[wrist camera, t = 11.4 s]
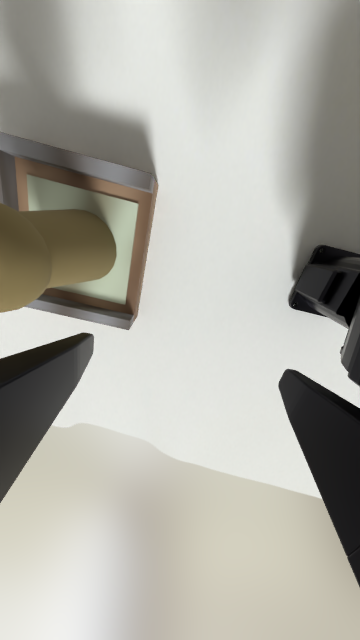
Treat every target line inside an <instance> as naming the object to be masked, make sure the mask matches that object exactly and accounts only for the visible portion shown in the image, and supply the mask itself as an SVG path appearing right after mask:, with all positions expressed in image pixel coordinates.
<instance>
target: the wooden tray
mask: <svg viewBox="0 0 360 640" xmlns="http://www.w3.org/2000/svg"><path fill="white" fill-rule="evenodd" d="M157 190H158V184H157V182H156V180H155V179H154V177H153V175H152V174H151V173H147V172H144V171H140V170H137V169H133V168H129V167H126V166H122V165H118V164H115V163H111V162H107V161H104V160H100V159H96V158H93V157H89V156H85V155H82V154H78V153H74V152H71V151H67V150H64V149H60V148H56V147H53V146H49V145H45V144H42V143H38V142H34V141H31V140H27V139H23V138H20V137H16V136H12V135H9V134H5V133H2V132H0V203H2V204H4V205H7V206H9V207H11V208H13V209H15V210H17V211H39V210H64V209H78V210H86V211H88V212H90V213H92V214H95V215H97V216H98V217H99V218H100V219H101V220H102V221H103V222H105V223H106V224H107V226H108V228H109V229H110V231H111V232H112V234H113V236H114V240H115V243H116V253H117V257H116V260H115V264H114V267H113V268H112V269H111V271H110V272H109V273H108V274H107V275H106V276H104V277H102V278H101V279H98V280H93V281H88V282H82V283H76V284H70V285H64V286H58V287H52V288H46V289H45V291H44V292H43V294H42V295H40V296H39V297H38V298H37V299H36V300H34V301H33V302H31V303H30V304H28V305H26V306H24V307H28V308H33V309H37V310H42V311H46V312H51V313H55V314H59V315H64V316H68V317H73V318H77V319H82V320H86V321H91V322H95V323H100V324H104V325H108V326H113V327H117V328H122V329H126V330H129V329H130V327H131V325H132V324H133V322H134V321H135V319H136V317H137V314H138V308H139V301H140V295H141V289H142V283H143V277H144V270H145V264H146V258H147V252H148V246H149V239H150V233H151V227H152V221H153V215H154V208H155V202H156V196H157Z"/></svg>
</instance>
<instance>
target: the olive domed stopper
mask: <svg viewBox="0 0 360 640" xmlns="http://www.w3.org/2000/svg"><path fill="white" fill-rule="evenodd" d="M116 257H117V253H116V243H115V240H114V236H113V234H112V232H111V231H110V229H109V228H108V226H107V224H106V223H105V222H103V221H102V220H101V219H100V218H99V217H98V216H97V215H95V214H92V213H90V212H88V211H86V210H78V209H64V210H39V211H17V210H15V209H13V208H11V207H9V206H7V205H4V204H2V203H0V313H1V312H7V311H12V310H17V309H20V308H22V307H24V306H26V305H28V304H30V303H31V302H33V301H34V300H36V299H37V298H38V297H39V296H40V295H42V294H43V292H44V291H45V289H46V288H52V287H58V286H64V285H70V284H76V283H82V282H88V281H93V280H98V279H101V278H102V277H104V276H106V275H107V274H108V273H109V272H110V271H111V269H112V268H113V267H114V264H115V260H116Z"/></svg>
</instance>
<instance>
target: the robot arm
mask: <svg viewBox="0 0 360 640" xmlns="http://www.w3.org/2000/svg"><path fill="white" fill-rule="evenodd" d="M320 249H323V251H322V252H321V253H320ZM295 302H296V305H294V306H293V304H294V303H295ZM289 306H290V307H291V308H293V309H296V310H300V311H304V312H308V313H312V314H316V315H321V316H325V317H328V318H330V319H332V320H334V321H335V322H337V323H339V324H341V325H342V326H344V327H346V328H347V329H349V330H348V333H347V336H346V339H345V343H344V346H342V347H341V350H340V354H341V363H342V364H343V366H344V367H345V369H346V370H347V371H348V372H349V373H348V377H349V378H350V379H351V380H352V381H353V382H354V383H356V384H357V385H358V386H360V254H356V253H352V252H348V251H345V250H341V249H337V248H333V247H330V246H326V245H319V246H317V247H316V249H315V250H314V252H313V255H312V257H311V259H310V261H309V263H308V265H306V266H305V269H304V271H303V273H302V275H301V277H300V279H299V281H298V283H297V285H296V287H295V292H294V294H293V296H292V298H291V300H290V302H289ZM93 345H94V336H93V334H89V333H80V334H77V335H74V336H71V337H68V338H65V339H61V340H58V341H55V342H52V343H49V344H46V345H42V346H39V347H36V348H33V349H30V350H27V351H24V352H20V353H17V354H14V355H11V356H8V357H5V358H1V359H0V503H1V501H2V500H3V498H4V497H5V495H6V494H7V492H8V490H9V489H10V487H11V486H12V484H13V483H14V481H15V480H16V478H17V477H18V475H19V474H20V472H21V471H22V469H23V467H24V466H25V464H26V463H27V461H28V460H29V458H30V457H31V455H32V454H33V452H34V451H35V449H36V447H37V446H38V444H39V443H40V441H41V440H42V438H43V437H44V435H45V434H46V432H47V431H48V429H49V428H50V426H51V425H52V423H53V421H54V420H55V418H56V417H57V415H58V414H59V412H60V411H61V409H62V408H63V406H64V405H65V403H66V401H67V400H68V398H69V397H70V395H71V394H72V392H73V391H74V389H75V388H76V386H77V384H78V382H79V381H80V379H81V377H82V375H83V373H84V371H85V369H86V367H87V365H88V363H89V360H90V358H91V356H92V354H93ZM279 390H280V393H281V396H282V399H283V402H284V406H285V409H286V412H287V415H288V418H289V420H290V423H291V425H292V428H293V430H294V432H295V435H296V437H297V440H298V442H299V444H300V447H301V449H302V451H303V454H304V456H305V459H306V461H307V463H308V466H309V468H310V470H311V473H312V475H313V477H314V480H315V482H316V485H317V487H318V489H319V492H320V494H321V496H322V499H323V501H324V503H325V506H326V508H327V510H328V513H329V515H330V518H331V520H332V522H333V525H334V527H335V530H336V532H337V534H338V536H339V539H340V541H341V544H342V546H343V548H344V551H345V553H346V555H347V556H348V557H347V558H348V561H349V563H350V565H351V568H352V570H353V573H354V575H355V577H356V579H357V582H358V584H359V587H360V408H358V407H356V406H355V405H353V404H351V403H350V402H348V401H346V400H345V399H343V398H341V397H340V396H338V395H336V394H335V393H333V392H331V391H330V390H328V389H326V388H325V387H323V386H321V385H320V384H318V383H316V382H315V381H313V380H311V379H310V378H308V377H306V376H305V375H303V374H301V373H300V372H298V371H296V370H292V369H286V370H285V372H284V373H283V375H282V377H281V379H280V381H279Z"/></svg>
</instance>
